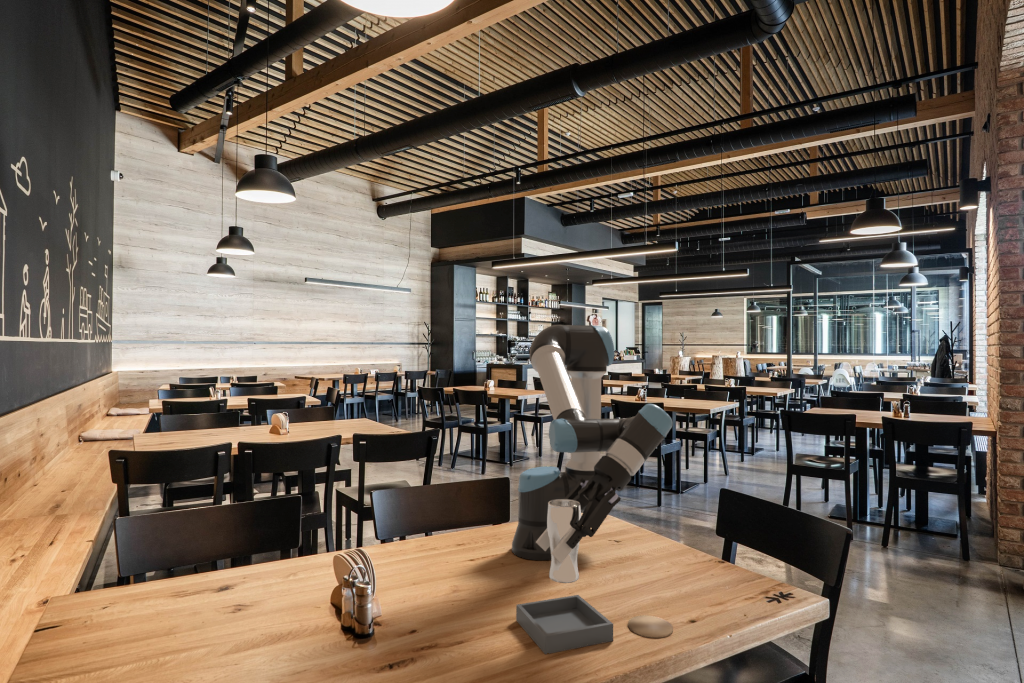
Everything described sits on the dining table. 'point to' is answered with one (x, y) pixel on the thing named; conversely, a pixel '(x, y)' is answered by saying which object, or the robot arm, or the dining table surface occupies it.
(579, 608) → the tray
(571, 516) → the beer glass
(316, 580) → the dining table surface
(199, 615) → the dining table surface
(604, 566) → the dining table surface
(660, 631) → the coaster
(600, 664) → the dining table surface
